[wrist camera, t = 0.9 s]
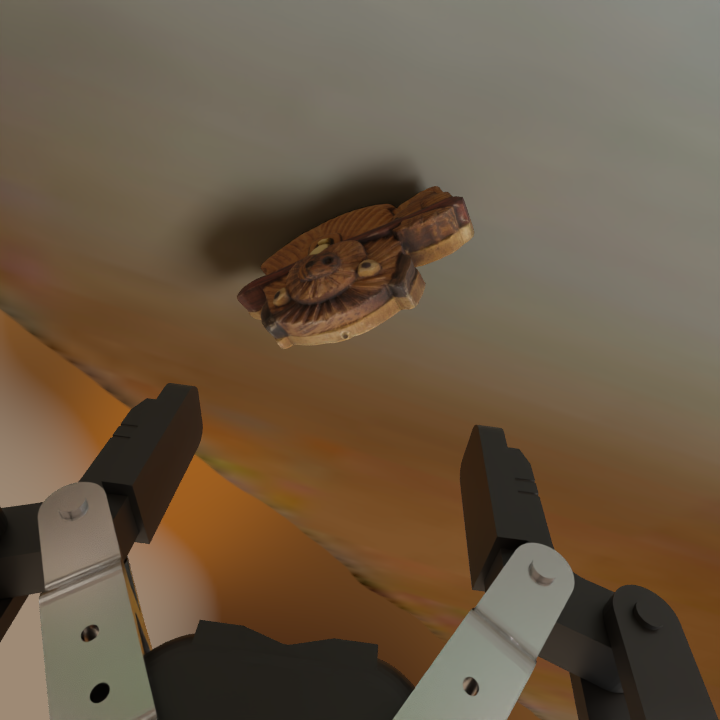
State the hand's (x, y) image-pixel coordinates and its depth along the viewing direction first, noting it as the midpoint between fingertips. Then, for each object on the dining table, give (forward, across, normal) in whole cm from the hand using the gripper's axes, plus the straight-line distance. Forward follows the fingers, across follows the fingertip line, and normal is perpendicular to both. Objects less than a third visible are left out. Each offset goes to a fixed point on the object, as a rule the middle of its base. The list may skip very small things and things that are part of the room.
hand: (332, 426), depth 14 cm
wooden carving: (+23, +2, +3) cm, 23 cm away
